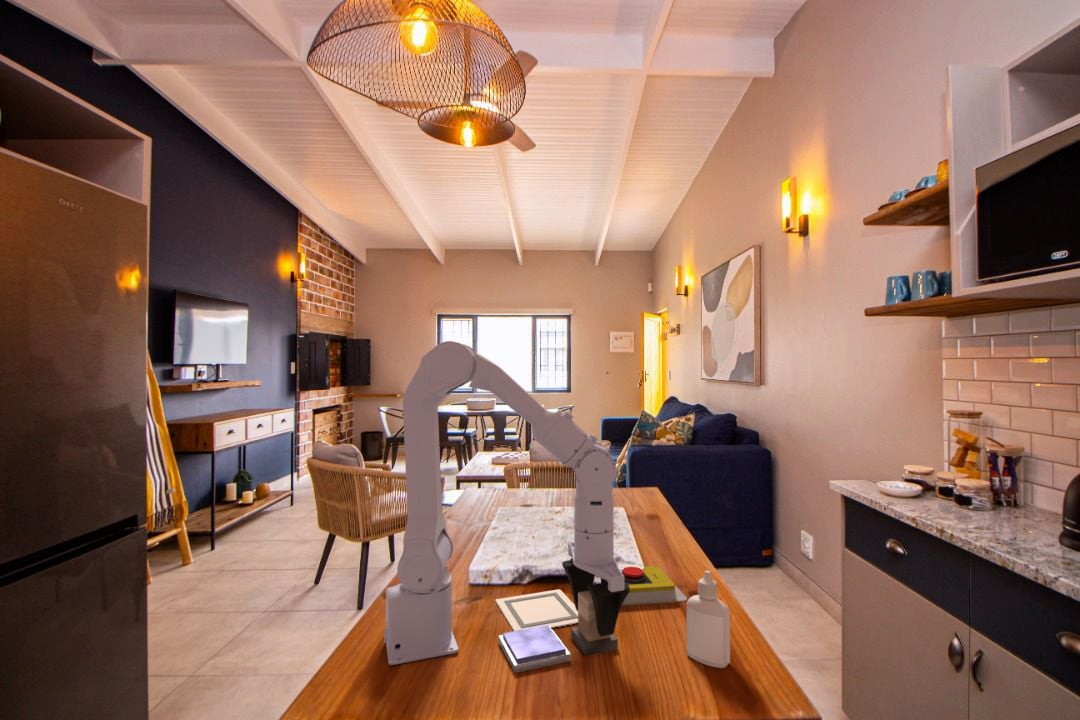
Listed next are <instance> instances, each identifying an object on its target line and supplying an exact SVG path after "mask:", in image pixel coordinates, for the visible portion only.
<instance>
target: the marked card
mask: <svg viewBox="0 0 1080 720" xmlns="http://www.w3.org/2000/svg"><path fill="white" fill-rule="evenodd" d="M495 603H496V605H497V607H498V608H499V610H500V611H501V613H502V614H503V617H504V618H505V620H506V621H507V623H508V624H509V626H510V628H511V630H512V631H518V630H523V629H529V628H534V627H539V626H545V625H548V626H550V627H551V628H554V627H559V628H562V627H561V626H564V627H567V626H566V625H570V626H573V625H572V624H575V625H577V624H576V623H578V611H577V610H576V608H575V604H574V602H573V601H572V600H570V598H569V597H568V596H567V595H566V594H565V593H564V592H563V591H562V590H561V589H560V588H559V589H553V590H546V591H541V592H534V593H529V594H521V595H516V596H515V595H514V596H508V597H502V598H496V599H495ZM554 629H555V628H554Z"/></svg>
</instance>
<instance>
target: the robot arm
mask: <svg viewBox="0 0 1080 720" xmlns="http://www.w3.org/2000/svg"><path fill="white" fill-rule="evenodd" d="M468 383H470V384H469V388H472V389H476V390H477V389H478V390H480V391H481V390H483V391H487V392H490V393H492V394H493V395H494V396H496V398H498V399H499V400H500V401H502V402H503V403H504V404H506V406H508V407H509V408H510V409H511V410H513V411H514V412H515V413H516V414H518V415H519V416H520V417H521V418H522V419H523V420H525V421H526V422H527V423H528V424H530V425H531V426H532V438H533V440H534V441H536V443H538V444H539V445H540V446H541V447H543V448H544V450H546V451H547V452H548V453H549V454H550V455H551V456H553V457H554V459H556V460H557V461H558V462H559V463H561V464H562V465H563V466H564V467H567V468H572V470H573V472H574V474H575V493H574V496H573V497H574V502H573V503H574V507H573V508H574V510H573V511H574V515H573V516H574V517H573V518H574V520H573V521H574V524H573V525H574V526H573V527H574V528H573V530H574V531H573V533H574V535H573V536H574V537H573V538H574V540H573V542H567V543H568V544H567V545H568V546H567V547H568V548H567V549H568V550H567V554H568V556H569V557H570V559H568V560H564V561H562V562H561V565H562V568H563V570H564V571H565V574H566V577H567V579H568V582H569V585H570V588H571V593H572V599H573V604H574V605H575V608H576V610H577V611H578V592H584V591H589V592H590V594H591V597H592V600H593V604H594V608H595V615H596V625H597V630H598V634H599V635H600V636H606V635H611V634H613V635H614V634H615V629H616V626H617V622H618V617H619V614H620V611H621V609H622V606H623V605H622V604H623V602H624V600H625V598H626V596H627V595H628V593H629V591H630V587H629V585H627V584H626V583H625V582H624V575H623V574H622V573H621V572H620V570H619V568H620V567H619V566H618V562H620V561H621V555H619V554H618V553H616V552H614V547H615V546H614V542H615V541H614V537H615V536H614V529H615V528H614V527H615V526H614V525H615V524H614V517H615V516H614V509H615V507H614V498H615V497H614V496H613V491H614V485H613V483H614V482H615V480H616V477H617V475H618V468H616V462H615V460H614V457H613V456H612V454H611V453H610V452H609V451H608V450H607V449H606V448H605V447H604V445H603V444H602V443H600V442H597V441H598V438H597V437H596V436H595V435H594V434H593V433H591V434H588V432H586V431H585V430H584V429H582V428H581V427H580V425H579V424H577V423H576V422H574V420H573V418H574V416H573V414H572V413H570V412H569V411H568V410H566V411H564V412H563V411H562V410H561V409H560V408H548V409H547V408H545V407H544V406H543V405H542V404H540V403H539V401H537V400H536V399H535V398H534V397H533V396H532V395H531V394H529V393H528V392H527V391H526V390H525V389H524V388H523V387H522V386H521V385H520V384H519V383H518V382H516V380H514V378H512V377H511V376H510V374H508V373H507V372H506V371H505V370H503V368H501V367H500V366H499V365H497V364H496V363H495V362H493V361H491V360H490V359H489V358H487V357H485V356H483V355H482V354H480V353H477V352H476V351H475V349H473V347H471V346H470V345H467V344H464V343H463V344H462V343H461V342H459V341H455V340H454V341H453V340H447V341H443V342H440V343H439V344H436V345H435V346H434V347H433V348H432V349H431V350H429V351H428V352H427V353H426V354H424V355H423V356H422V357H421V360H420V363H419V366H418V368H417V369H416V371H415V373H414V375H413V377H412V378H411V380H410V382H409V383H408V385H407V387H406V389H405V390H404V393H403V395H402V413H403V415H402V417H403V438H404V439H403V440H404V442H403V443H404V463H405V466H404V467H405V486H406V487H405V488H406V510H407V512H406V513H407V521H406V525H405V529H404V533H403V534H404V535H403V538H402V539H403V540H402V545H403V548H402V554H401V557H400V558H399V560H398V563H397V577H398V580H399V582H400V583H398V584H396V585H393V586H390V587H389V586H388V587H387V588H386V589H385V628H383V639H384V640H383V643H384V644H385V645H386V655H387V661H388V662H387V663H388V665H389V666H394V665H398V664H399V665H400V664H405V663H410V662H416V661H421V660H426V659H430V658H431V659H432V658H437V657H443V656H447V655H452V654H456V653H458V652H459V646H458V644H457V640H456V637H455V635H454V632H453V630H452V628H453V627H452V622H453V621H452V620H453V619H452V617H453V616H452V613H453V611H452V610H453V609H452V606H453V605H452V604H453V603H452V600H453V599H452V595H453V594H452V592H453V589H452V588H453V587H452V585H453V584H452V583H453V581H452V580H453V579H452V578H453V576H452V574H451V573H450V570H449V569H448V567H447V565H448V563H449V561H450V559H451V558H452V555H453V552H454V545H453V544H454V543H453V541H452V540H453V539H452V538H451V536H450V534H449V532H448V529H447V525H446V524H447V521H446V518H445V515H444V512H443V502H442V500H443V496H442V479H441V477H442V474H441V456H440V455H441V453H440V451H441V450H440V433H439V432H440V431H439V429H440V428H439V406H440V405H441V404H442V403H443V402H444V401H445V400H446V399H447V398H448V397H449V396H451V394H452V393H453V392H454V391H455V390H456V389H458V388H461V387H463V386H465V385H466V384H468ZM596 577H599V579H600V580H601V584H600V583H597V582H596V583H597V584H594V583H595V578H596Z"/></svg>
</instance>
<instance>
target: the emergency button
mask: <svg viewBox="0 0 1080 720" xmlns="http://www.w3.org/2000/svg"><path fill="white" fill-rule="evenodd" d="M638 567H639V566H626V567H623V568H624V569H623V570H622V574H623V575H624V582H625V583H626V584H627V585H629V587H630V591H629V593H628V595H627V596H626V598H625V600H624V602H623V604H622V606H633V605H635V606H636V605H647V604H648V605H649V604H650V605H651V604H664V603H666V604H667V603H678V602H687V601H688V597H687V596H686V595H685V594H684V593H683V592H682V591H681V590H680V588H678V586H677V585H675V584H676V583H675V582H673V581H672V579H670V577H668V576H667V574H666V573H665V572H664V571H663V570H662V569H661V568H660V567H658V566H656V565H651V566H643V567H644V568H643V570H642V569H640V568H638Z"/></svg>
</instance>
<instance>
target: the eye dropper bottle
mask: <svg viewBox="0 0 1080 720" xmlns="http://www.w3.org/2000/svg"><path fill="white" fill-rule="evenodd" d="M730 615H731V614H730V608H729V607H728V605H727V604H725V602H723V601H722V600H721V599H719V598H718V582H717V581H716V580H715V579H713V578H712V574H711V571H709V570H705V571H704V575H703V578H700V579H698V594H695V595H692V596H691V597H690V598H688V599H687V600H686V615H685V616H686V622H685V623H686V625H685V626H686V630H685V631H686V637H685V638H686V639H685V640H686V654H687V656H689V658H691V659H692V660H694V661H695V662H698V663H699V664H702V665H705V666H708V667H712V668H718V669H725V668H727V666H728V665H729V664H730V662H731V617H730Z"/></svg>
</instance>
